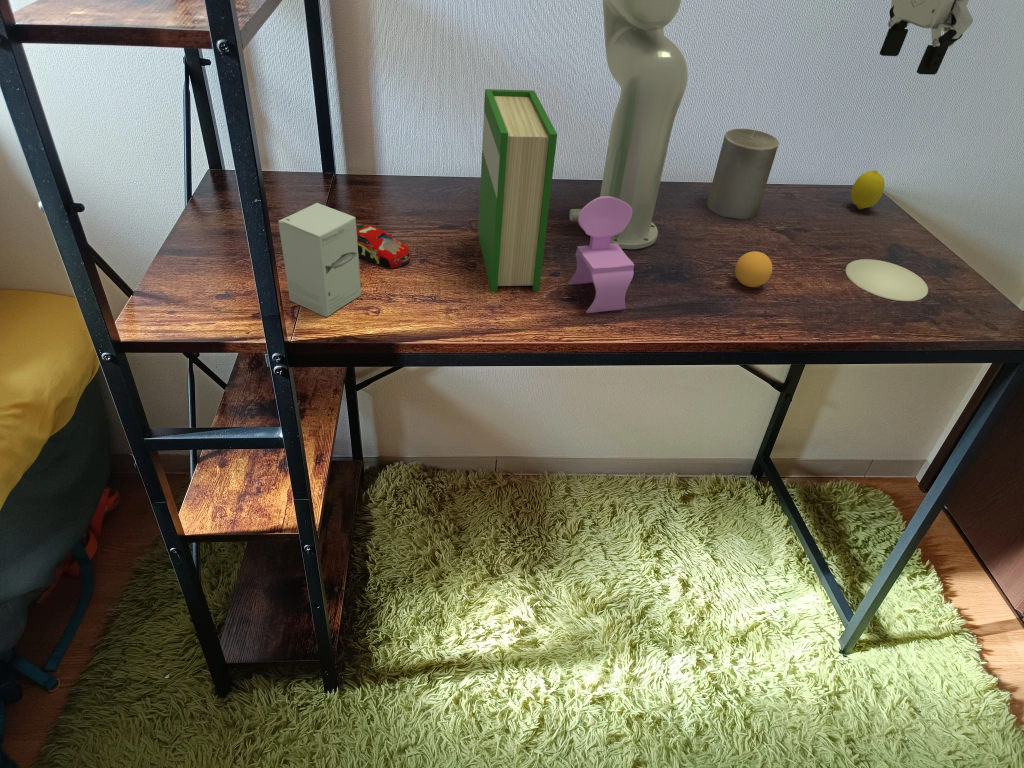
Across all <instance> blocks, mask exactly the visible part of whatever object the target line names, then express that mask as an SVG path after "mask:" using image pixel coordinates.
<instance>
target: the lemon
mask: <svg viewBox="0 0 1024 768" xmlns="http://www.w3.org/2000/svg"><path fill="white" fill-rule="evenodd" d="M885 184H886V183H885V179H884V177H883V176H882V174H881V173H880V172H879V171H878V170H876V169H874V170H871V171H866V172H863V173H862V174H861V175H859V177H857V179H855V182H854V183H853V185H852V188H851V192H850V199H851V201H852V203H853V205H855V206H856V208H857V210H861V211H862V210H863V209H865V208H866V209H867V208H870V207H873V206H875V205H876V204H878V202H879V200H880V199H881V198H882V196H883V193H884V191H885Z"/></svg>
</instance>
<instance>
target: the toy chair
mask: <svg viewBox="0 0 1024 768" xmlns="http://www.w3.org/2000/svg"><path fill="white" fill-rule="evenodd" d="M631 217H632V209H631V207H630V206H629V205H628V204H627V203H625V202H624V201H622V200H620V199H617V198H614V197H610V196H602V197H600V196H598V197H596V198H594V199H593V200H591V201H590V202H588V203H587V204H585V206H584V207H583V208H582V209H581V211H580V213H579V215H578V221H577V223H578V225H579V227H580V228H581V229H582V230H583V231H584V232H585V235H587V236H590V238H589V245H579V246H577V248H576V251H575V258H576V269H575V272H574V273H573V275H572V277H571V278H570V279H569V280H568V283H567V285H581V284H589V283H590V284H591V283H593V285H594V289H595V297H594V299H593V301H592V303H591V305H590V306H589V307H588V308H587V310H586V311H585V313H586V314H590V313H591V314H592V313H599V312H600V313H601V312H609V311H610V312H611V311H620V310H626V309H627V308H626V307H627V306H626V292H627V290H628V289H629V287H630V284H631V283H632V282H631V281H632V280H633V277H634V269H635V264H634V262H633V260H631V258H629V257H628V256H627V254H626V253H625V252H624V251H623V250H624V249H621V247H620V246H619V245H618V244H617V243H614V244H610V242H611V238H612V236H614V235H617V234H619V233H621V232H623V231H624V229H625V228H626V226H627V225H628V223H629V222H630V220H631Z"/></svg>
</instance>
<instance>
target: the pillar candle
mask: <svg viewBox="0 0 1024 768" xmlns="http://www.w3.org/2000/svg"><path fill="white" fill-rule="evenodd" d="M779 145H780V142H779V139H777V138H776V137H774V136H773V135H771V134H770V133H767V132H764V131H761V130H756V129H750V128H734V129H730V130H728V131H726V132H725V134H724V137H723V141H722V144H721V148H720V152H719V155H718V160H717V164H716V167H715V170H714V175H713V179H712V182H711V186H710V190H709V194H708V198H707V202H706V206H707V208H708V209H709V210H710V211H711V212H713V213H714V214H716V215H718V216H721V217H724V218H732V219H735V220H749V219H752V218H754V217H756V216H757V214H758V212H759V210H760V207H761V203H762V201H763V196H764V194H765V190H766V187H767V184H768V180H769V178H770V173H771V171H772V167H773V164H774V161H775V157H776V153H777V151H778V148H779Z"/></svg>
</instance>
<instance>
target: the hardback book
mask: <svg viewBox="0 0 1024 768" xmlns="http://www.w3.org/2000/svg"><path fill="white" fill-rule="evenodd" d="M483 103H484V104H483V125H482V147H481V167H480V168H481V170H480V187H479V188H480V190H479V211H478V230H477V231H478V232H477V237H478V241H479V245H480V246H479V247H480V249H481V254H482V258H483V262H484V268H485V272H486V276H487V280H488V286H489V289H490V293H497V292H498V287H506V286H507V287H513V286H516V287H519V286H531V289H532V291H533V292H540V290H541V289H540V287H541V280H542V272H543V262H544V253H545V246H546V244H545V243H546V237H547V236H546V235H547V229H548V219H549V209H550V203H551V192H552V186H553V185H552V183H553V176H554V175H553V174H554V167H555V158H556V150H557V149H556V148H557V140H558V132H557V131H556V129H555V127H554V126H553V123H552V121H551V120H550V118H549V115H548V114H547V112H546V110H545V107H544V106H543V104H542V102H541V100H540V99H539V97H538V95H537V93H536V91H535V90H531V89H530V90H529V89H528V90H527V89H526V90H525V89H498V88H497V89H496V88H495V89H493V88H492V89H491V88H489V89H488V88H484V101H483Z"/></svg>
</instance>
